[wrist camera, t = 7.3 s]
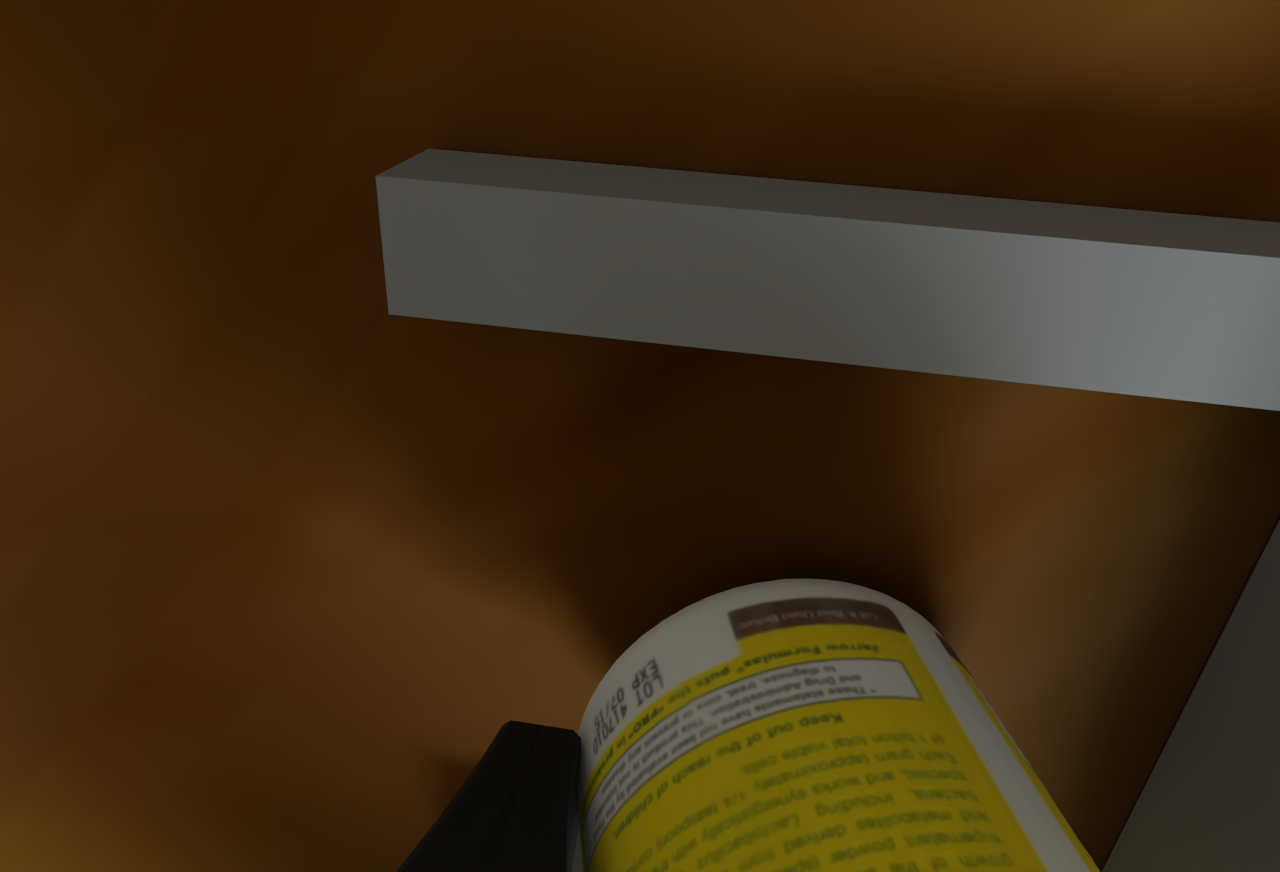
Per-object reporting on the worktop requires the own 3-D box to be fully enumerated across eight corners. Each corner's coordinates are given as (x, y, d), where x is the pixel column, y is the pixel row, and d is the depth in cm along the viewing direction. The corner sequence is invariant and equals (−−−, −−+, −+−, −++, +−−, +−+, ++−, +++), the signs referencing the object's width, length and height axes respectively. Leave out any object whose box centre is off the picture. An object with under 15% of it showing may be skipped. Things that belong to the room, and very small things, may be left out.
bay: (1148, 971, 15) (1278, 1332, 11) (474, 853, 16) (373, 1139, 12) (1584, 248, 9) (2246, 486, 5) (428, 147, 10) (191, 268, 6)
